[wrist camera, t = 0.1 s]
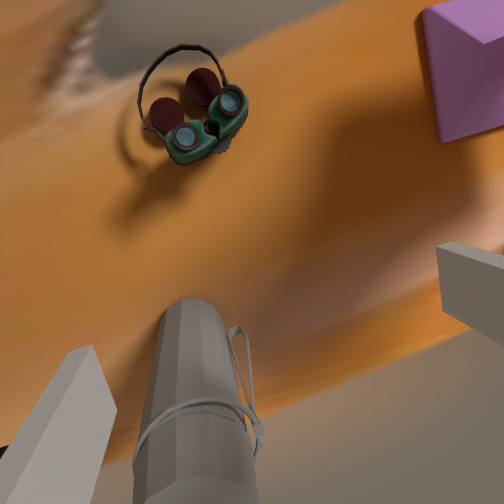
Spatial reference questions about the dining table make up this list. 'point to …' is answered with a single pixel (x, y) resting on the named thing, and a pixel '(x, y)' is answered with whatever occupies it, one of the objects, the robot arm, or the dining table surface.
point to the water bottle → (196, 415)
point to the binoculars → (193, 131)
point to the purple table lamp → (466, 65)
